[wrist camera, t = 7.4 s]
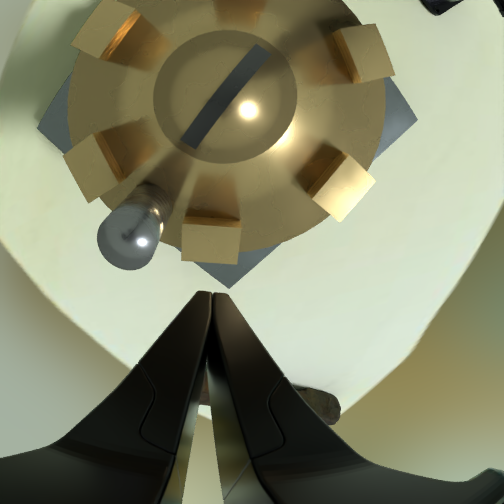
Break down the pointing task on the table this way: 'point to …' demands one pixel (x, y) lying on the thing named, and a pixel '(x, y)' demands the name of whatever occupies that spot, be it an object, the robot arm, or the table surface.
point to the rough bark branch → (317, 400)
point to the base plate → (395, 125)
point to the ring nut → (222, 122)
